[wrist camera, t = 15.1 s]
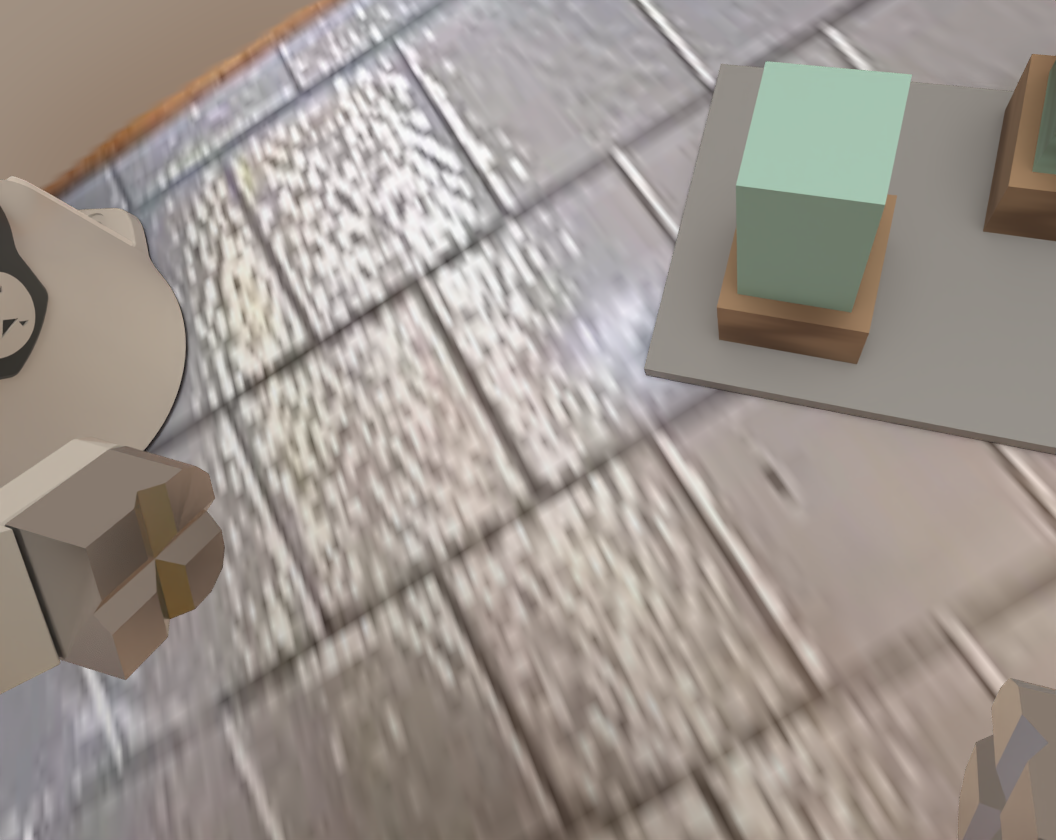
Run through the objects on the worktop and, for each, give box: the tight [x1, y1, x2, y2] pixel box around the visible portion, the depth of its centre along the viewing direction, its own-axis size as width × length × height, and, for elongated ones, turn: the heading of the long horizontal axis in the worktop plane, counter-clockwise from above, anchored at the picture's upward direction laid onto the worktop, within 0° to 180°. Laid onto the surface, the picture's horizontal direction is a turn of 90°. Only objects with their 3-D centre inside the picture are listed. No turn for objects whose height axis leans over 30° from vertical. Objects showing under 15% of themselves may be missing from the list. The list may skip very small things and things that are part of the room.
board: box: [644, 64, 1056, 455], centre depth 40 cm, size 20×16×1 cm
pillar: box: [736, 61, 912, 312], centre depth 32 cm, size 4×4×9 cm
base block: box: [717, 194, 897, 364], centre depth 39 cm, size 6×6×4 cm
